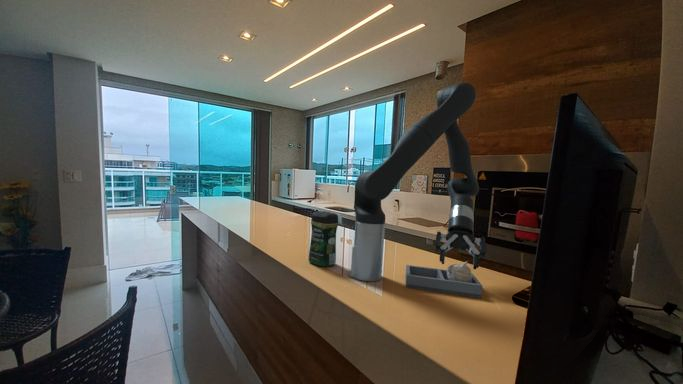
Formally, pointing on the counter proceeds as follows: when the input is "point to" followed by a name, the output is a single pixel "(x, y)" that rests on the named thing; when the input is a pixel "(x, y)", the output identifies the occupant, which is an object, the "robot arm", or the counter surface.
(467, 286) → the tray
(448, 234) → the robot arm
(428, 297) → the counter surface
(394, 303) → the counter surface
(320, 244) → the coffee jar
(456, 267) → the garlic bulb
